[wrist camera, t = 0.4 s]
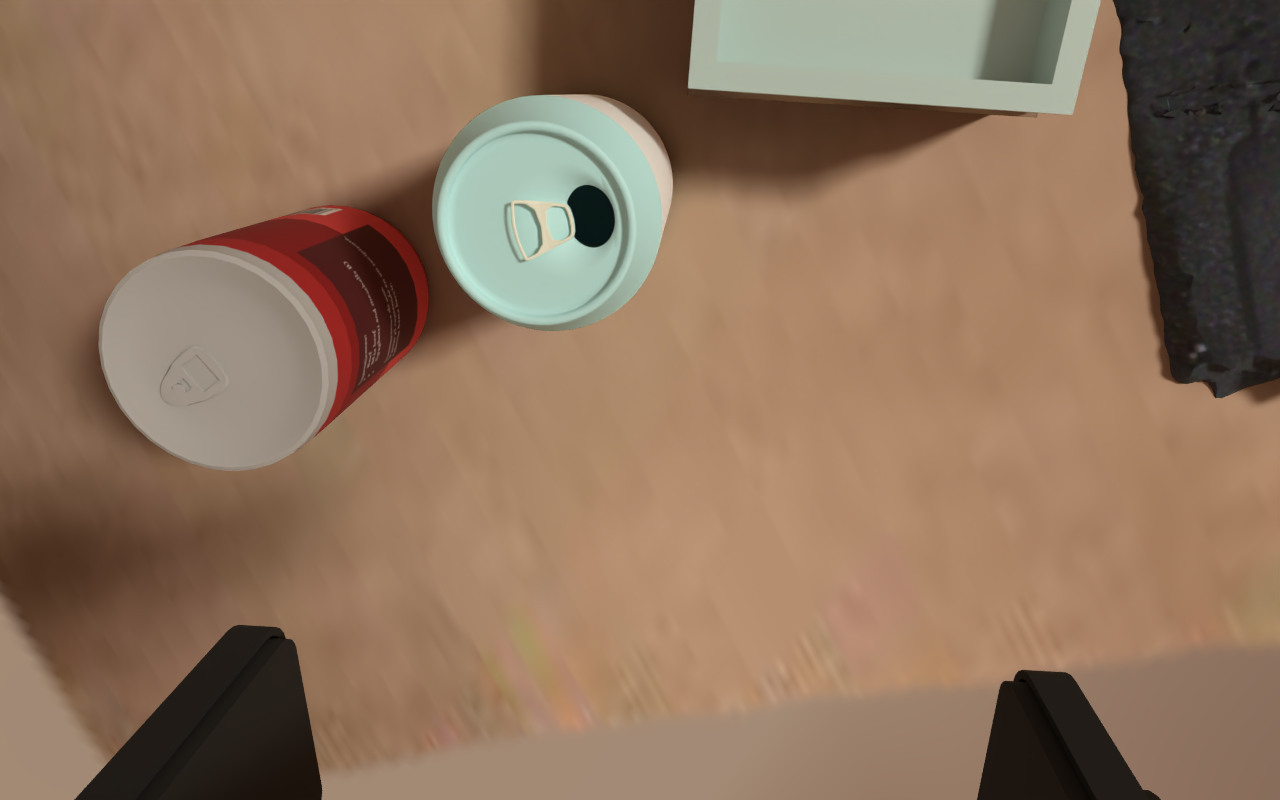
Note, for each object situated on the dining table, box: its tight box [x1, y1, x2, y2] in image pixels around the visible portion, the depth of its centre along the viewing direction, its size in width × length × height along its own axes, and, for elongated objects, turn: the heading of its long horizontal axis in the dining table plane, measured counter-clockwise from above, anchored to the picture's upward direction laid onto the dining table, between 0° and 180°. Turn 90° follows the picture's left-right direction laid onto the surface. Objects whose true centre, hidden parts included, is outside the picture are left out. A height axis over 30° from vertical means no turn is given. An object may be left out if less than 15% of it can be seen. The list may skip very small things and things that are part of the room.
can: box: [432, 94, 673, 331], centre depth 28 cm, size 7×7×12 cm
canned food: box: [98, 205, 429, 471], centre depth 31 cm, size 8×8×11 cm
